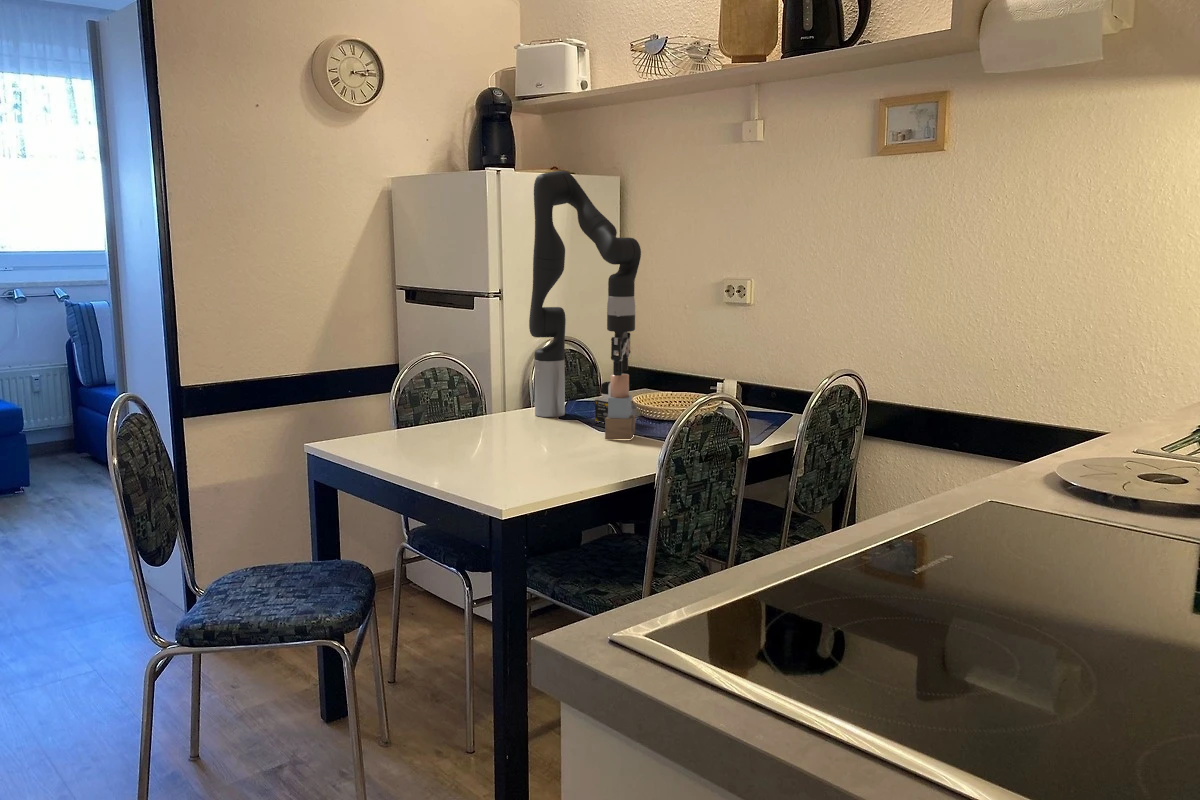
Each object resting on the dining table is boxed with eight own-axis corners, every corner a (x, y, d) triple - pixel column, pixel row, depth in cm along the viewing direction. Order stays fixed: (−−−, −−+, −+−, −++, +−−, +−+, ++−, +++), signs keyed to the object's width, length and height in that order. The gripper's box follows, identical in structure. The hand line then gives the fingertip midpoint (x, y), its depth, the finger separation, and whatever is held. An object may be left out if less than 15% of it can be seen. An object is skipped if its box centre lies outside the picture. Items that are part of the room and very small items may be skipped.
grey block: (611, 414, 261) (611, 394, 260) (631, 415, 260) (631, 395, 259) (608, 418, 256) (608, 397, 255) (628, 418, 255) (628, 398, 254)
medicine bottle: (594, 421, 282) (594, 382, 280) (612, 418, 286) (612, 379, 284) (610, 425, 276) (611, 384, 274) (628, 422, 281) (628, 382, 279)
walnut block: (610, 435, 263) (610, 413, 262) (635, 436, 261) (635, 414, 260) (605, 440, 256) (605, 418, 255) (630, 441, 255) (630, 419, 254)
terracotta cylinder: (612, 394, 260) (612, 373, 259) (630, 395, 259) (630, 373, 258) (608, 397, 255) (608, 375, 254) (626, 398, 254) (626, 376, 253)
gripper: (612, 310, 261) (612, 369, 264) (601, 315, 247) (601, 376, 250) (639, 311, 259) (639, 370, 262) (630, 315, 245) (629, 377, 248)
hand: (620, 373), depth 256 cm, fingers open, 8 cm apart
